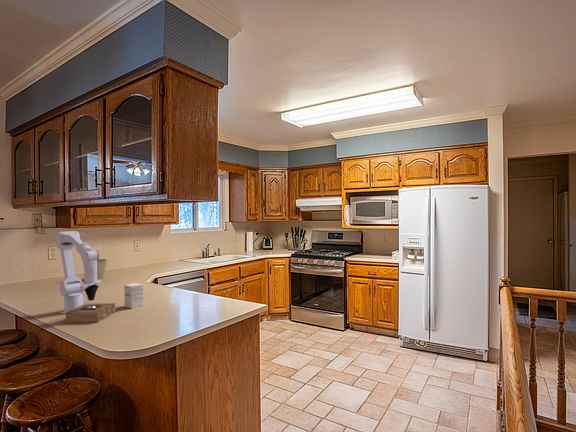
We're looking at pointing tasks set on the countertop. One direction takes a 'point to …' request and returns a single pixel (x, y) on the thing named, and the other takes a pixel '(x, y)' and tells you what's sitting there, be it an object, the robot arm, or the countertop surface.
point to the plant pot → (101, 268)
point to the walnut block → (90, 313)
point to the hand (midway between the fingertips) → (91, 300)
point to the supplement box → (133, 295)
